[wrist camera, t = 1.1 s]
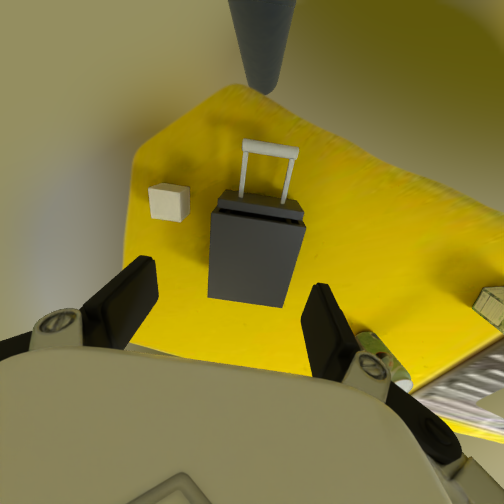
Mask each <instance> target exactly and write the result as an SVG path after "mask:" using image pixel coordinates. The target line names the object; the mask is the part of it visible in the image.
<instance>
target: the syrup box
mask: <svg viewBox="0 0 504 504" xmlns="http://www.w3.org/2000/svg"><path fill="white" fill-rule="evenodd" d="M472 309H473V310H474V311H475V312H477V313H478V314H479V315H480V316H482V317H483V318H484V319H485V320H487V321H488V322H489V323H490V324H492V325H493V326H494V327H496V328H497V329H498V330H499V331H501V332H502V333H503V334H504V287H488V288H483V289H482V291H481V293H480V295H479V296H478V298H477V300H476V302H475V303H474V305H473V307H472Z"/></svg>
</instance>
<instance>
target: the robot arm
mask: <svg viewBox="0 0 504 504" xmlns="http://www.w3.org/2000/svg"><path fill="white" fill-rule="evenodd" d="M158 297H159V293H158V284H157V274H156V265H155V260H153V259H152V257H149V256H143V255H140V256H138V257H137V258H136V259H135V260H134V261H133V262H132V263H130V264H129V265H128V266H127V267H126V268H125V269H123V270H122V271H121V272H120V273H119V274H118V275H117V276H115V277H114V278H113V279H112V280H111V281H110V282H109V283H108V284H106V285H105V286H104V287H103V288H102V289H101V290H99V291H98V292H97V293H96V294H95V295H94V296H92V297H91V298H90V299H89V300H88V301H87V302H86V303H84V304H83V307H81V308H80V309H79V310H78V309H74V308H65V309H60V310H57V311H54V312H51V313H49V314H47V315H45V316H44V317H43V318H41V319H39V320H38V322H37V323H36V324H35V326H34V327H33V331H30V332H27V333H24V334H21V335H18V336H15V337H12V338H9V339H6V340H3V341H0V504H504V489H503V488H502V487H501V486H500V485H499V484H498V483H497V482H496V481H495V480H494V479H493V478H492V477H491V476H490V475H489V474H488V473H487V472H486V471H485V470H484V469H483V468H482V467H481V466H480V465H479V464H478V463H477V462H476V461H475V460H474V459H473V458H472V457H469V458H468V457H467V456H466V455H464V453H463V452H462V449H461V446H460V443H459V441H458V439H457V437H456V435H455V434H454V432H453V431H452V430H451V429H450V428H449V426H448V425H447V424H446V423H445V422H444V421H443V420H441V419H440V418H439V417H438V416H437V415H435V414H434V413H433V412H432V411H430V410H429V409H428V408H426V407H425V406H424V405H422V404H421V403H420V402H419V401H417V400H416V399H415V398H413V397H412V396H411V395H409V394H408V393H407V392H406V391H404V390H403V389H402V388H400V387H399V386H398V385H396V384H395V383H394V382H393V381H391V373H390V370H389V368H388V367H387V365H386V364H385V363H384V362H383V361H382V360H381V359H380V358H379V357H378V356H376V355H374V354H373V353H371V352H368V351H361V349H360V347H359V345H358V343H357V341H356V339H355V336H354V334H353V332H352V330H351V328H350V326H349V324H348V322H347V320H346V318H345V316H344V314H343V312H342V310H341V309H340V308H339V306H338V304H337V302H336V300H335V298H334V295H333V293H332V291H331V289H330V287H329V285H328V284H324V283H317V284H316V285H313V287H312V290H311V292H310V295H309V298H308V300H307V303H306V305H305V308H304V311H303V313H302V316H301V326H302V330H303V335H304V340H305V344H306V349H307V353H308V358H309V363H310V367H311V372H312V376H313V377H309V376H303V375H297V374H291V373H284V372H277V371H270V370H264V369H257V368H250V367H243V366H236V365H229V364H222V363H215V362H208V361H201V360H193V359H186V358H179V357H172V356H164V355H156V354H149V353H141V352H135V351H127V350H124V348H125V347H126V345H127V344H128V343H129V341H130V340H131V338H132V337H133V335H134V334H135V332H136V331H137V330H138V328H139V327H140V325H141V324H142V322H143V321H144V319H145V318H146V317H147V315H148V314H149V312H150V311H151V309H152V308H153V306H154V305H155V304H156V302H157V300H158Z"/></svg>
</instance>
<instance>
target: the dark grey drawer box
mask: <svg viewBox="0 0 504 504" xmlns="http://www.w3.org/2000/svg"><path fill="white" fill-rule="evenodd" d="M226 210H227V209H224V208H218V205H217V206H216V207H215V209H214V210H213V211H212V213H211V230H210V253H209V276H208V298H215V299H222V300H229V301H236V302H243V303H250V304H257V305H264V306H271V307H278V308H282V307H283V304H284V301H285V297H286V294H287V291H288V287H289V284H290V281H291V277H292V274H293V271H294V267H295V264H296V261H297V257H298V254H299V251H300V247H301V244H302V241H303V237H304V234H305V231H306V226H305V224H304V222H303V220H302V221H301V220H294V219H291V222H292V223H286V222H280V221H273V220H267V219H261V218H254V217H248V216H241V215H235V214H229V213H225V212H226Z"/></svg>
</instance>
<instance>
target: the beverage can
mask: <svg viewBox="0 0 504 504" xmlns="http://www.w3.org/2000/svg"><path fill="white" fill-rule="evenodd" d="M355 339H356V341H357V343H358V345H359V347H360V349H361V351H368V352H371V353H373V354H374V355H376V356H378V357H379V358H380V359H381V360H382V361H383V362H384V363H385V364H386V365H387V367H388V368H389V370H390V373H391V381H393V382H394V383H395V384H396V385H398V386H399V387H400V388H402V389H403V390H404V391H406V392H407V393H408V392H409V391H410V390H411V389H412V387H413V383H412V381H411V377H410V374H409V373H408V372H407V370H406V369H405V368H404V367H403V366H402V365H401V363H400V362H399V361H398V360H397V359H396V357H395V356H394V355H393V354H392V353H391V352H390V350H389V349H388V348H387V347H386V346H385V345H384V343H383V342H382V341H381V340H380V339H379V337H378V336H377V335H376V334H375V333H373V332H362V333H359V334H358V335H356V336H355Z"/></svg>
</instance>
